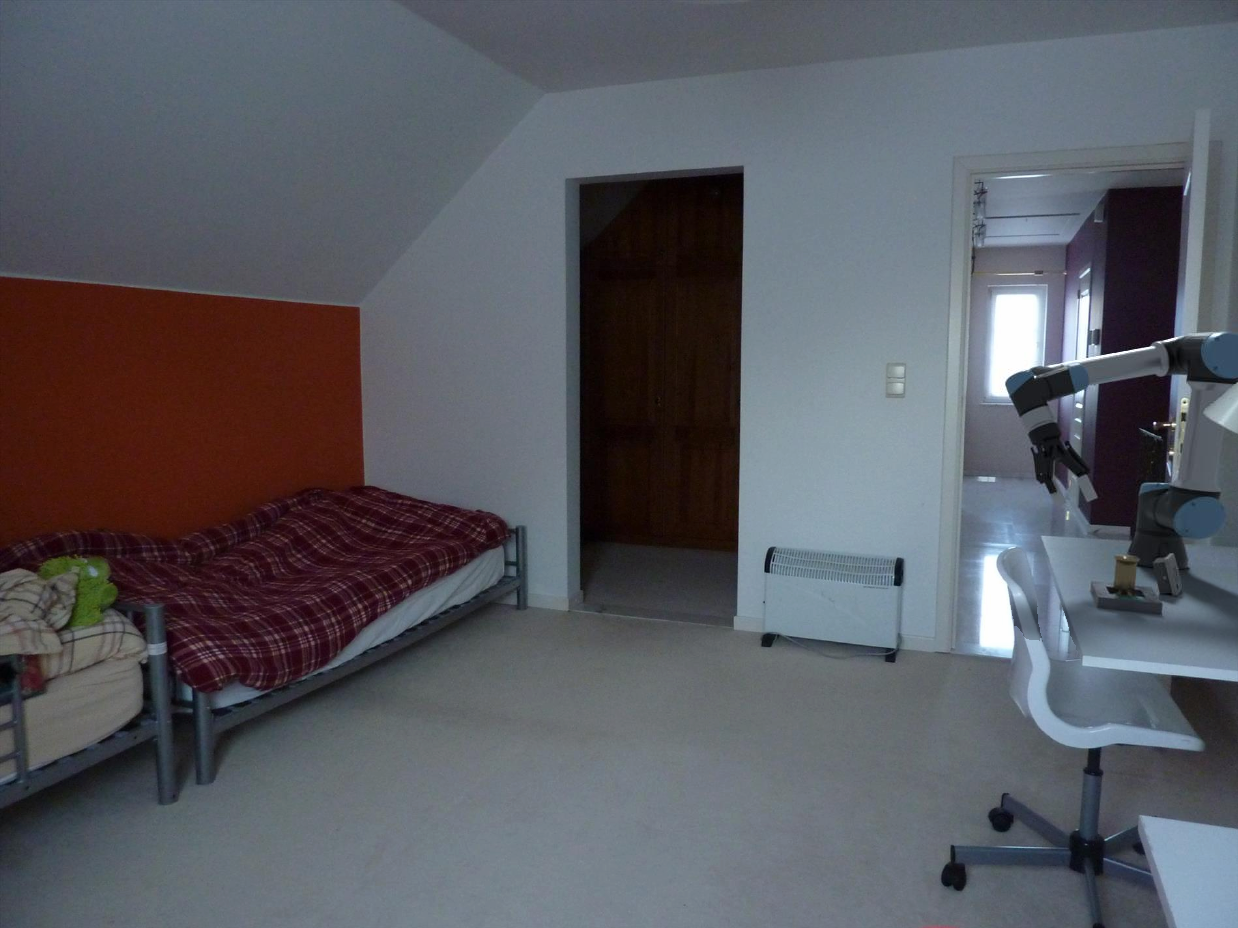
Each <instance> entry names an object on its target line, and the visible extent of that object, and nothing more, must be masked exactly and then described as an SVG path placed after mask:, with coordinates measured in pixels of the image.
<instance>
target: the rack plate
mask: <svg viewBox="0 0 1238 928" xmlns="http://www.w3.org/2000/svg"><path fill="white" fill-rule="evenodd" d="M1113 585H1114V582H1113V583H1112V582H1106V581H1105V582H1103V581H1095V580H1091V581H1090V589H1089V590H1090V593H1091V595H1092V597H1093V600H1094V602H1095V605H1096V608H1100V609H1101V608H1102V609H1109V610H1118V611H1127V612H1136V613H1144V614H1152V615H1153V614H1154V615H1161V616H1162V614H1163V605H1164V603H1163V602H1162V601H1161V599H1160V597H1159V596H1158V595H1157V594H1156V592H1155V590H1154V589H1153V588H1152V587H1151V586H1144V585H1143V586H1142V585H1135V590H1134V596H1128V595H1119V594H1113Z"/></svg>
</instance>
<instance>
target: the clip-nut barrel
mask: <svg viewBox="0 0 1238 928" xmlns="http://www.w3.org/2000/svg"><path fill="white" fill-rule="evenodd" d="M1113 558H1114V560H1115V565H1114V577H1113V583H1114V585H1113V594H1119V595H1128V596H1134V590H1135V586H1136V578H1137V567H1138V565H1137V562H1139V560H1140V558H1138V557H1135V556H1130V555H1127V554H1114V555H1113Z"/></svg>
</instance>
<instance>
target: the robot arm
mask: <svg viewBox="0 0 1238 928" xmlns="http://www.w3.org/2000/svg"><path fill="white" fill-rule="evenodd" d="M1151 375H1156V376H1157V377H1166V376H1179V375H1181V376H1186V381H1185V382H1186V384H1187V385H1188V386H1189V387H1190V389H1191V391H1190V397H1189V404H1188V410H1187V415H1186V422H1185V423H1186V424H1185V429H1184V436H1183V441H1182V448H1181V454H1180V459H1179V466H1178V473H1177V478H1176V479H1175V480H1173V481H1171V482H1170V483H1167V482H1164V483H1163V482H1144V483H1142V484H1141V486H1140V489H1139V492H1138V501H1137V502H1138V504H1137V512H1136V513H1137V515H1136V528H1135V535H1134V536H1133V539H1132V541H1131V543H1130V545H1129V547H1128V549H1127V551H1126V555H1130V556H1135V557H1138V558H1140V560H1139V562H1137V566H1142V567H1148V568H1153V569H1154V567H1153V562H1154V561H1155V560H1156V559H1157V558H1164V557H1167V556H1168V555H1169V554H1170V553H1174V556H1175V559H1176V563H1177V567H1178V569H1179V570H1184V569H1187V568H1188V567H1189V557H1188V552H1187V548H1186V545H1185V540H1184V538H1185V539H1186V538H1187V539H1193V540H1205V539H1210V538H1212V537H1213V536H1215V535H1216V534H1217V533H1219V532H1220V531H1221V530H1222V529H1223V527H1224V526H1225V523H1226V520H1227V510H1226V508H1225V507H1224V505H1223V503H1222V502H1221V501H1220V500H1221V493H1222V489H1221V488H1220V487H1219V485H1218V484H1217V483H1216V481H1217V476H1218V470H1219V469H1218V468H1219V462H1220V457H1221V450H1222V445H1223V440H1224V439H1223V437H1224V433H1225V427H1221V426H1220V425H1218V424H1216V423H1214V422H1213V421H1211V420H1210V419H1208V418H1206V417H1205V415H1204V414H1203V412H1204V410H1205V408H1207V407H1208V406H1210V404H1212V403H1214V401H1216V400H1217V399H1218V398H1219V397H1221V396H1222V395H1223V394H1224V393H1225V392H1226V391H1227V390H1228V389H1229V388H1231V387H1232V386H1233V385H1234V384H1236V383H1237V382H1238V333H1237V332H1231V331H1225V330H1223V331H1207V332H1203V331H1202V332H1199V331H1197V332H1192V333H1187V334H1182V335H1180V336H1176V337H1172V338H1168V339H1165V340H1159V341H1154V342H1152V343H1151V344H1150V346H1147V347H1142V348H1137V349H1136V348H1135V349H1131V350H1127V351H1126V350H1125V351H1120V352H1116V353H1115V352H1114V353H1109V354H1103V355H1097V356H1093V357H1088V358H1083V359H1077V360H1076V359H1075V360H1072V361H1066V362H1061V363H1055V364H1049V365H1044V366H1043V365H1037V366H1032V367H1031V368H1029V369H1026V370H1021V371H1018V372H1016V373H1013V374H1012V375H1010V376H1009V377H1007V379H1006V381H1005V382H1004V386H1005V389H1006V391H1007V393H1008V396H1009V398H1010V400H1011V402H1012V404H1013V406H1014V409H1015V410H1016V412H1017V415H1018V416H1019V419H1020V421H1021V423H1022V426H1023V427H1024V429H1025V431H1026V432H1028V433H1027V436H1028V438H1029V441H1030V442H1031V444H1032V446H1031V447H1030V451H1031V454H1032V457H1033V464H1034V465H1033V466H1034V472H1035V479H1036V481H1037V482H1038V483H1039V484H1040V485H1045V487H1046V488H1047V491H1048V493H1049V495H1050V497H1051V499H1052V501H1053V503H1054V507H1056V508H1059V507H1060V506H1061V507H1062V506H1063V505H1065V504H1067V503H1068V502H1067V499H1066V497H1065V495H1064V493H1063V491H1062V488H1061V487H1060V485H1059V483H1058V480H1057V479H1056V478H1054V465H1055V462H1058V463H1061V464H1062V465H1064V466H1065V467H1066V468H1067V469H1068V470H1069V471H1070V472H1071V473H1072V474H1073V475H1075V476H1076V477H1077V478H1076V482H1077V484H1078V486H1079V487H1080V490H1081V493H1082V495H1083V497H1084V499H1085V500H1086V502H1091V501H1093V500H1096V499H1098V498H1099V497H1098V495H1097V492H1096V490H1095V488H1094V486H1093V485H1092V483H1091V481H1090V478H1089V476H1088V475H1089V474H1091V468H1090V467H1089V465H1088V464H1087V463H1086V462H1085V461H1084V460H1083V459H1082V457H1081V455H1079V454H1078V452H1077V451H1076V450H1075V449H1074V447H1073V445H1071V443H1070V441H1069V440H1068V439H1067V440H1065V441H1063V442H1062V441H1061V439H1060V438H1061V436H1063V433H1062V431H1061V428H1060V427H1059V424H1058V422H1055V420H1056V418H1055V416H1054V414H1053V412H1052V410H1051V408H1050V406H1049V404H1048V403H1050V402H1052V401H1054V400H1058V399H1061V398H1065V397H1067V396H1071V395H1073V394H1078V393H1080V392H1082V391H1085V390H1087V389H1088V387H1089V386H1095V385H1100V384H1105V383H1110V382H1117V381H1122V380H1128V379H1135V378H1139V377H1145V376H1146V377H1147V376H1151Z"/></svg>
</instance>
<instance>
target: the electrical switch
mask: <svg viewBox="0 0 1238 928" xmlns="http://www.w3.org/2000/svg"><path fill="white" fill-rule="evenodd" d="M1153 567H1154V568H1153ZM1153 567H1152V568H1153V572H1154V577H1155V579H1156V583H1157V584H1156V585H1157V589H1158V593H1159V594H1161V595H1162V594H1172V597H1175V596H1176V597H1177V596H1178V595H1179V594H1180V592H1181V591H1182V590H1183V586H1182V585H1183V584H1182V579H1181V575H1180V572H1179V571H1180V569H1178V567H1177V563H1176V559H1175V556H1174V553H1170V554H1169V555H1168V556H1167V557H1164V558H1157V559H1156V560H1155V561H1154V562H1153Z"/></svg>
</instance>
